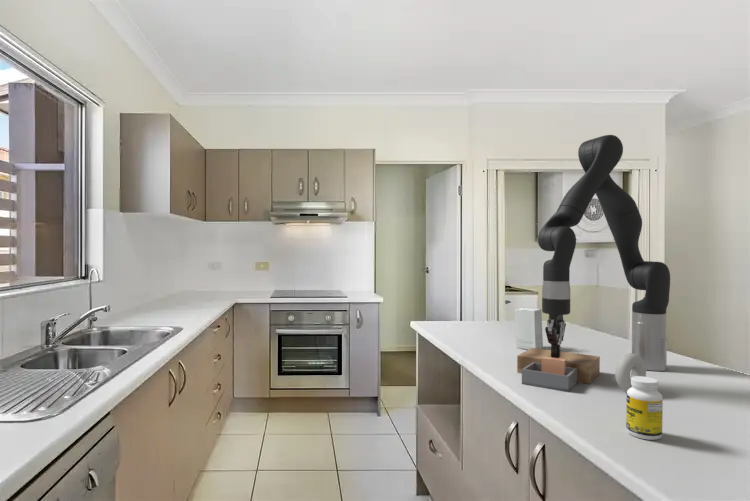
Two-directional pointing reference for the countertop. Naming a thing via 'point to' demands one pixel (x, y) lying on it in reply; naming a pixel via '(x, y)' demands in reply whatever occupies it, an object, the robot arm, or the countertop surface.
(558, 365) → the tile
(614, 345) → the countertop surface
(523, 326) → the skincare box
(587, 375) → the chopping block
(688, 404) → the countertop surface
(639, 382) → the pill bottle
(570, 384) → the bin
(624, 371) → the donut
